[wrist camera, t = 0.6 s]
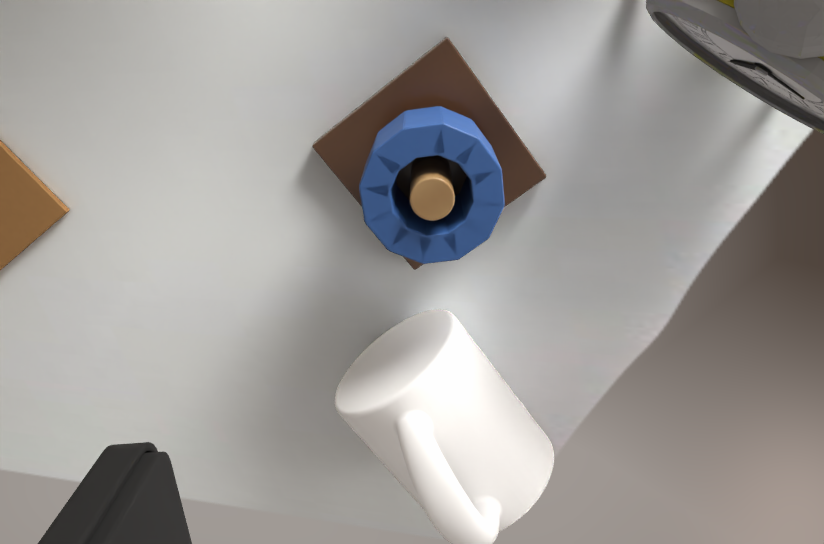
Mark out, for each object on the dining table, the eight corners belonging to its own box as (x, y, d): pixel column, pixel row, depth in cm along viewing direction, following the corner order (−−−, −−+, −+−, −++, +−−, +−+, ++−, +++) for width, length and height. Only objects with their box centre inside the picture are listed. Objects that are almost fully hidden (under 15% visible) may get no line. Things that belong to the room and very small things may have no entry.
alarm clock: (602, -2, 35) (721, 9, 21) (691, -136, 33) (890, -221, 19) (777, 120, 37) (989, 203, 23) (872, 3, 35) (1169, 18, 21)
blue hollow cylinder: (341, 159, 35) (331, 183, 31) (443, 80, 34) (447, 94, 29) (418, 253, 37) (418, 288, 33) (518, 182, 36) (531, 209, 31)
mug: (451, 287, 41) (462, 400, 30) (543, 409, 44) (584, 551, 33) (340, 358, 43) (313, 489, 32) (436, 470, 46) (441, 623, 35)
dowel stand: (313, 142, 38) (288, 181, 30) (447, 35, 36) (454, 49, 28) (414, 264, 41) (413, 327, 33) (544, 172, 38) (574, 217, 31)
